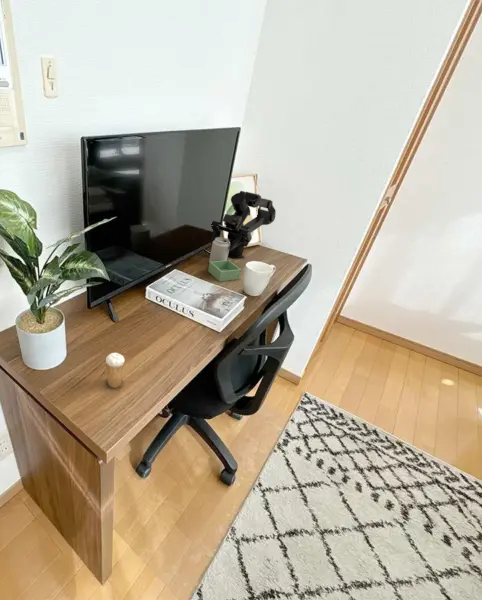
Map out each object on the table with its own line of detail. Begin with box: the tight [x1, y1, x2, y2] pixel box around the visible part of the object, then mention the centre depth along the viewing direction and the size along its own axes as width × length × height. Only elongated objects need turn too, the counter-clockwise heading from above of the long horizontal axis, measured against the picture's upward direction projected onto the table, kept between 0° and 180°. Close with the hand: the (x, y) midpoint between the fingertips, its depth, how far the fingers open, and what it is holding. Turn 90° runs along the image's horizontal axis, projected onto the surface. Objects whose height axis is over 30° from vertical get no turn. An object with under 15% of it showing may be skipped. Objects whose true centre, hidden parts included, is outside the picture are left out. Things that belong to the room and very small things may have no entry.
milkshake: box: [105, 352, 126, 389], centre depth 79 cm, size 4×5×10 cm
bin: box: [207, 259, 242, 282], centre depth 135 cm, size 9×9×4 cm
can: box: [208, 236, 230, 264], centre depth 142 cm, size 8×8×12 cm
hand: (220, 246), depth 140 cm, fingers open, 9 cm apart
